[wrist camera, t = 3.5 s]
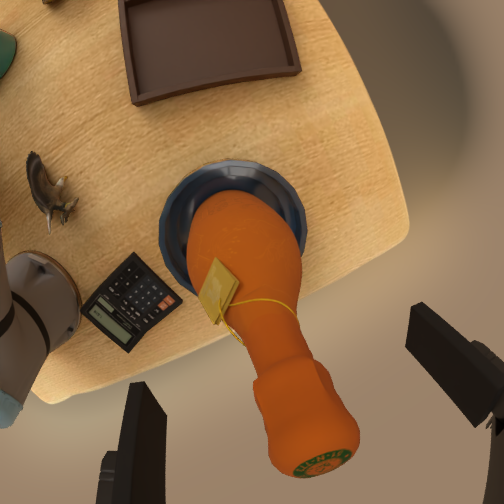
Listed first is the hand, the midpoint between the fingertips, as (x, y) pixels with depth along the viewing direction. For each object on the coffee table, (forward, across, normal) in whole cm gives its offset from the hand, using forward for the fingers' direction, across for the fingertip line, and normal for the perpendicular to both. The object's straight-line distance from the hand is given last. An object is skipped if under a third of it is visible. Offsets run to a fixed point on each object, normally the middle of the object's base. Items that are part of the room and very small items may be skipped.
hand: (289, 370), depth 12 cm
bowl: (+25, 0, 0) cm, 25 cm away
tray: (+25, +2, +25) cm, 36 cm away
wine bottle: (+25, 0, 0) cm, 25 cm away
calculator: (+26, -16, -7) cm, 31 cm away
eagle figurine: (+25, -21, +11) cm, 35 cm away
